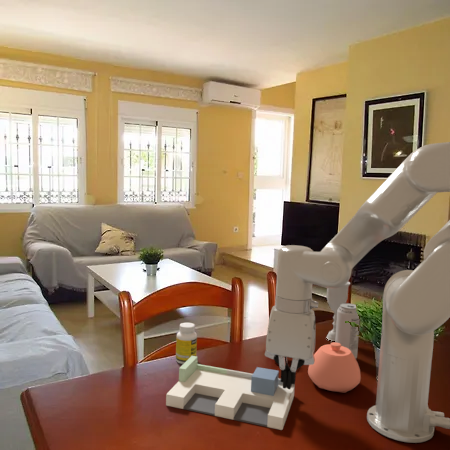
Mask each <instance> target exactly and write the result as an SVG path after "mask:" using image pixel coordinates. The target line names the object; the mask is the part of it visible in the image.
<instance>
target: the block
mask: <svg viewBox="0 0 450 450" xmlns="http://www.w3.org/2000/svg"><path fill="white" fill-rule="evenodd" d="M279 373H280V371H279V370H278V369H277V370H276V369H271V368H264V367H260V366H259V367H258V366H256V368H255V369H254V372H253V373H252V374H253V375H252V378H251V392H255V393H260V394H265V395H271V396H274V394H275V391H276V389H277V387H278V378H280V377H279Z"/></svg>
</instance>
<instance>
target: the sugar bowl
mask: <svg viewBox="0 0 450 450" xmlns="http://www.w3.org/2000/svg"><path fill="white" fill-rule="evenodd" d="M314 358H315V362H314V364H313V365H308V367H307V369H308V370H307V373H308V376H309V379H311V381H312V382H313V384H314V385H316V387H318V388H319V389H322V390H327V391H330V392H337V393H341V394H343V393H345V394H346V393H347V392H349V391H352V390H353V389H354V388H356V387H357V386H358V385H359V384H360V382H361V379H362V377H361V369H360V366H359V363H358V361H357V358H356V359H355V357H354V355H353V354H352V352H351V351H350V350H349V349H348V348H346V347H344V346H341V344H340V343H337V342H330V344H324V345H322V346H320V347H319V348H318V349H317V351H316V352H314Z"/></svg>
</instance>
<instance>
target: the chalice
mask: <svg viewBox="0 0 450 450" xmlns="http://www.w3.org/2000/svg"><path fill="white" fill-rule="evenodd" d="M350 285H351V282H350V281H348V282H347V283H346V284H345V285H343V286H342V287H339V288H333V289H332V288H326V300H327V303H328V306H329V307H330V310H331V311H332V312H333V316H332V319H333V322H332V323H331V324H332V325H333V328H332V329H331V330H329V331H328V334H327V335H326V337H325V339H326V338H327V339H328V340H327V339H326V340H327V341H329V340H331V341H330V342H332V341H335V338H336V323H337V310H338V309H339V307H340V304H342V303H347V300H348V295H349V294H348V293H349V287H350Z"/></svg>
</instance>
